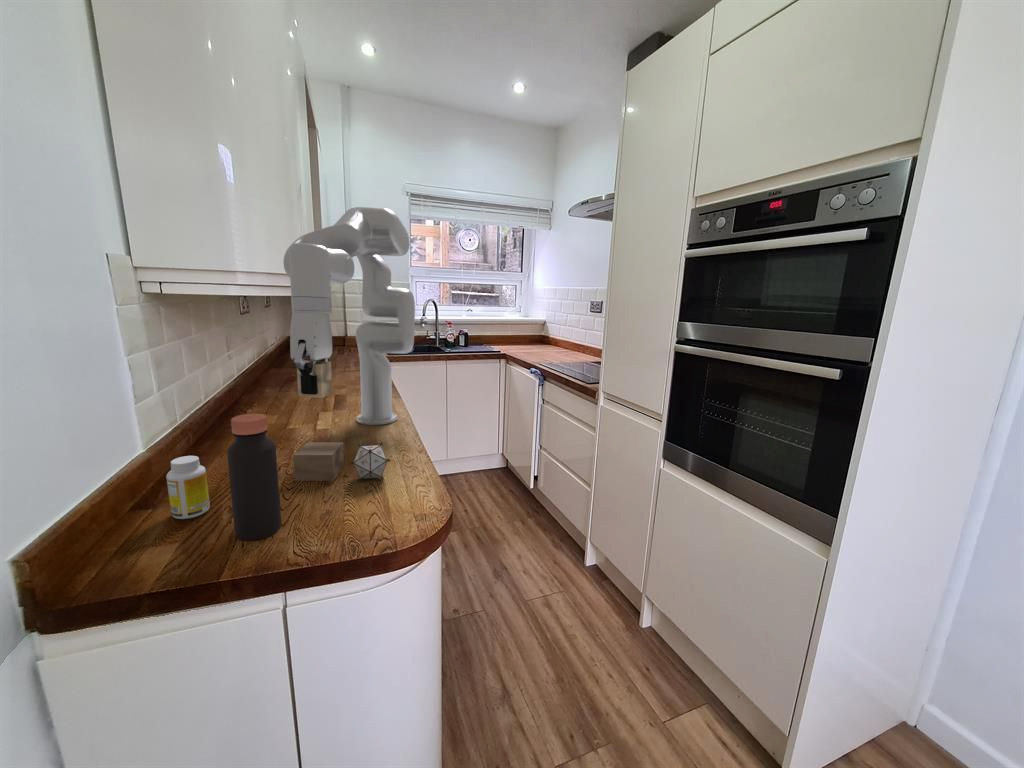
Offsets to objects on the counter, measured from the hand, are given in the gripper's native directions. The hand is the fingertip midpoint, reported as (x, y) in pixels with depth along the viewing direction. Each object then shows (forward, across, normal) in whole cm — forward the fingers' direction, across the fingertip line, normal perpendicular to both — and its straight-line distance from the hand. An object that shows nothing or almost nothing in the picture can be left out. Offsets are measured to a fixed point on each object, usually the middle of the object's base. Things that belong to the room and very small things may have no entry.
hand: (315, 390), depth 90 cm
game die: (+20, +1, +12) cm, 23 cm away
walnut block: (+19, -1, 0) cm, 19 cm away
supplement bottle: (+20, +18, -15) cm, 31 cm away
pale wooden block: (+1, 0, 0) cm, 1 cm away
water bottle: (+20, +23, 0) cm, 31 cm away
